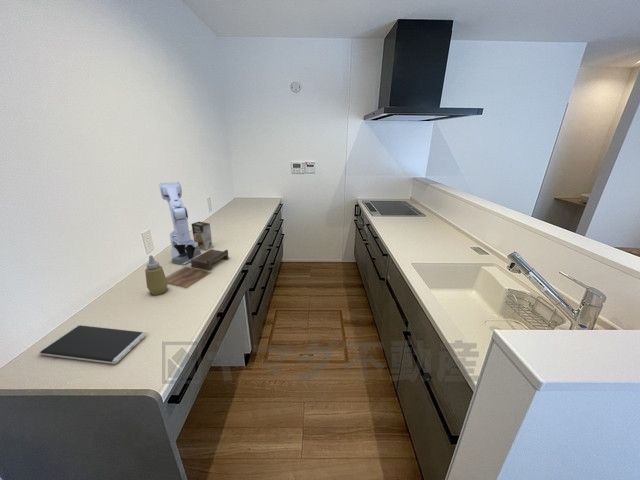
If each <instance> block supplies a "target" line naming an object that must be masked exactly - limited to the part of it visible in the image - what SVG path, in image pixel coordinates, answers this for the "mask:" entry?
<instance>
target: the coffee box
mask: <svg viewBox="0 0 640 480" xmlns="http://www.w3.org/2000/svg"><path fill="white" fill-rule="evenodd" d="M190 225H191V230H192V234H193V235H192V236H193V241H195V242H198V246H197V247H196V248H195V249H200V250H204V251H208V250H210V249H212V248H213V239H212V230H211V223H210V222H204V221H196V222H193V223H191V224H190Z"/></svg>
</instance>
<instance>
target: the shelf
mask: <svg viewBox="0 0 640 480" xmlns="http://www.w3.org/2000/svg"><path fill="white" fill-rule="evenodd" d="M229 257H230V256H229V250H228V249H225V250H218V249H213V248H210V249H208V250H206V251H205V252H204V253H201V254H200V255H198V256H196V257H194V259H192V260H191V262H190V265H191V268H195V269H200V270H205V271H211V270H212V265H213V264H214V263H216V262H218V261H219V260H221V259H223V260H229V259H230V258H229Z"/></svg>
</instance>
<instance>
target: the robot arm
mask: <svg viewBox="0 0 640 480" xmlns="http://www.w3.org/2000/svg"><path fill="white" fill-rule="evenodd" d="M158 187H159V192H160V195H161V198H162V200H163V201H164V200H165V201H166V202H167V204H168V207H169V212H170V216H171V221H172V225H173V230H172V231H171V232H170V233H169V241H170V246H171V248H170V254H171V259H172V258H174V257H177V256H179V255H181V254H183V253H185V252H187V254H188V258H189V259H190V260H189V261H187V262H185V263H183V264H182V265H187V264H188V263H191V260H192V259H194V258H195V257H194V258H193V256H194V250H195V249H197V248H196V247H197V246H198V242H195V241H194V239H192V237H191V233H190V228H189V222H188V220H189V212H188V209H187V207H186V206H184V202H183V200H182V199H181V198H182V196H183V194H182V193H183V189H182V184H181V182H180V181H175V182H160V183H158Z"/></svg>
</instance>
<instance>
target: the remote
mask: <svg viewBox="0 0 640 480" xmlns="http://www.w3.org/2000/svg"><path fill="white" fill-rule="evenodd" d="M201 250H202V249H199V248H195V250H194V256H193V258H196V257H197V256H199V255H201V254H202V251H201ZM189 260H190V259H189V258H188V254H187V252H185V253H183V254H181V255H179V256H177V257H174V258H172V257H171V263H172V265H173V264H174V265H178V266H181V265H184V264H183V263H185V262H187V261H189Z"/></svg>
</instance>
